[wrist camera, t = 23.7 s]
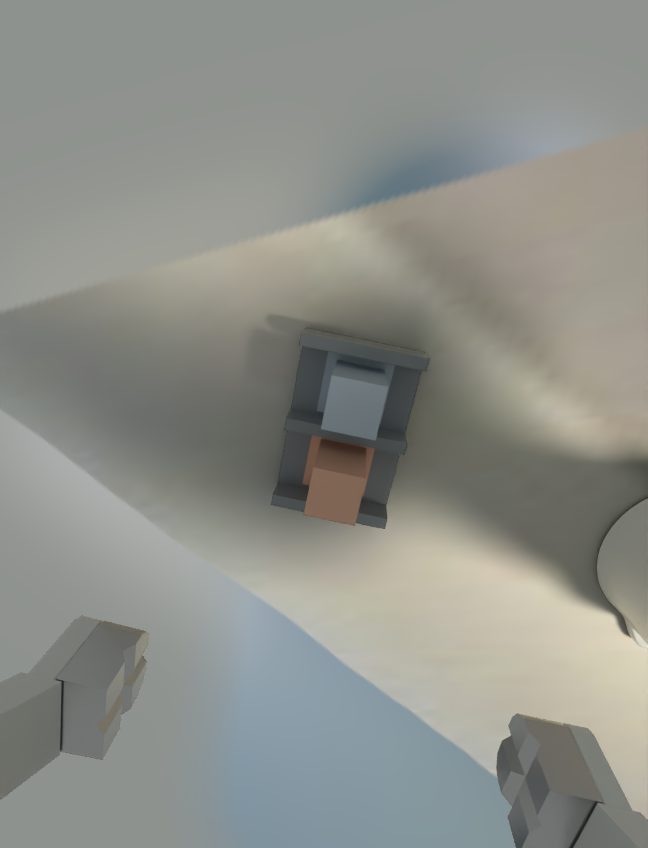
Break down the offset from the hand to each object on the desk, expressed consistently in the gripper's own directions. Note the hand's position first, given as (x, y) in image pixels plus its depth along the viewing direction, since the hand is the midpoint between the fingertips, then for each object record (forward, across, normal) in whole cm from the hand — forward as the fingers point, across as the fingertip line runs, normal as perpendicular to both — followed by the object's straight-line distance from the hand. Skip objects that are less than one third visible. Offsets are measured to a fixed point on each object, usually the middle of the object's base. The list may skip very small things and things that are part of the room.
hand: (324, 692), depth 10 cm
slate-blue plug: (+30, 0, 0) cm, 30 cm away
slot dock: (+31, 0, -4) cm, 31 cm away
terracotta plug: (+30, 0, -7) cm, 31 cm away
